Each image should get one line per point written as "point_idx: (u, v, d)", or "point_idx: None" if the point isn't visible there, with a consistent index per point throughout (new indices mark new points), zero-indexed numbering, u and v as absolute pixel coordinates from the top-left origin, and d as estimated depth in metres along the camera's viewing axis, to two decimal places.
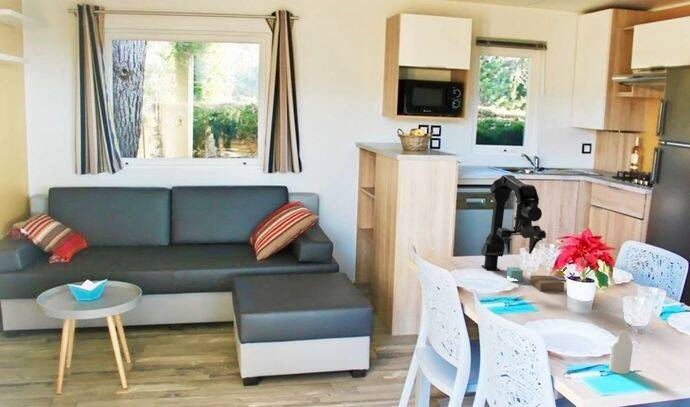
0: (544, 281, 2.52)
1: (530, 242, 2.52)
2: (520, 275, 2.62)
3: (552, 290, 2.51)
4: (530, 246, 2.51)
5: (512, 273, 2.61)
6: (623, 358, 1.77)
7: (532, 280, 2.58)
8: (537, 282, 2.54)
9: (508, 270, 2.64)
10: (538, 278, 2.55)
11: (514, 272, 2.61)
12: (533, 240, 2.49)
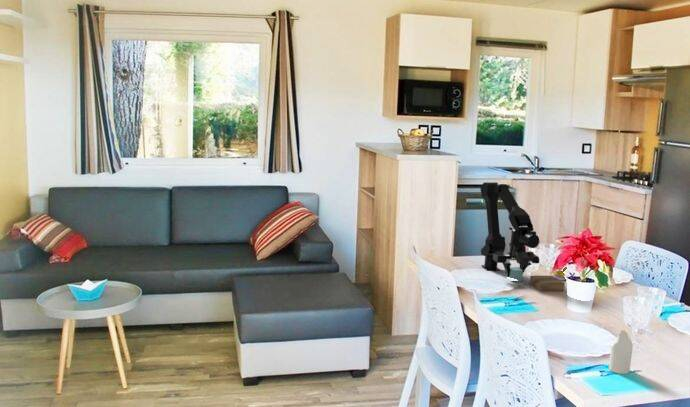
0: (544, 281, 2.52)
1: (520, 266, 2.65)
2: (520, 275, 2.62)
3: (553, 290, 2.51)
4: None
5: (512, 273, 2.61)
6: (623, 358, 1.77)
7: (532, 280, 2.58)
8: (537, 282, 2.54)
9: None
10: (538, 279, 2.55)
11: (514, 272, 2.61)
12: (523, 265, 2.63)
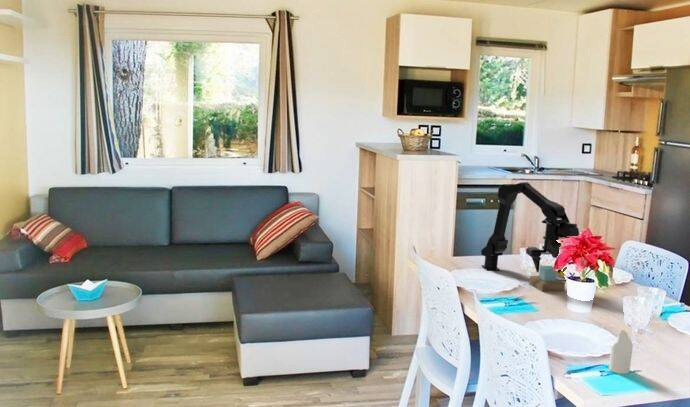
0: (545, 282, 2.52)
1: None
2: (554, 274, 2.53)
3: (553, 290, 2.52)
4: None
5: (546, 272, 2.52)
6: (623, 358, 1.77)
7: (532, 281, 2.57)
8: (538, 283, 2.53)
9: (541, 269, 2.55)
10: (538, 279, 2.55)
11: (548, 271, 2.52)
12: None
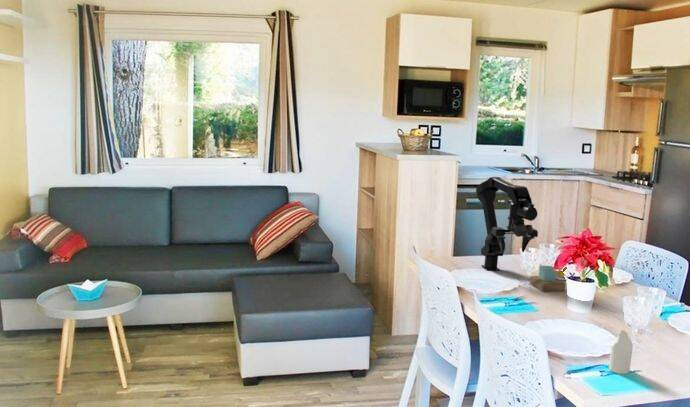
0: (546, 282, 2.51)
1: (523, 240, 2.65)
2: (554, 274, 2.53)
3: (554, 290, 2.51)
4: (523, 244, 2.65)
5: (546, 272, 2.52)
6: (623, 358, 1.77)
7: (533, 281, 2.57)
8: (538, 283, 2.53)
9: (541, 269, 2.55)
10: (539, 279, 2.55)
11: (548, 271, 2.52)
12: (526, 238, 2.63)
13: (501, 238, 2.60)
